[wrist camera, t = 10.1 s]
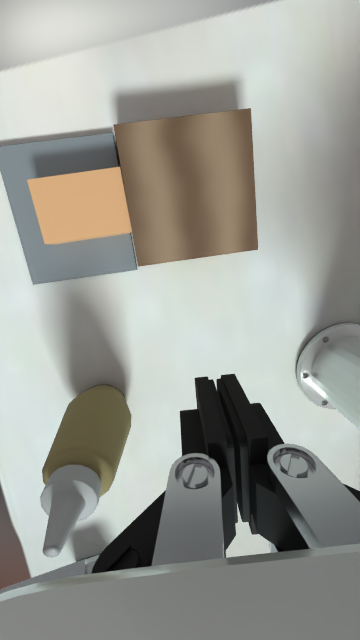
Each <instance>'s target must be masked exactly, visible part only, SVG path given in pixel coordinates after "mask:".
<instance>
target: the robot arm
mask: <svg viewBox="0 0 360 640" xmlns="http://www.w3.org/2000/svg"><path fill="white" fill-rule="evenodd" d="M297 381H298V384H299V387H300V389H301V391H302V392H303V394H304V395H305V396H306V397H307V398H308V399H309V400H310V401H311V402H313V403H314V404H316V405H317V406H320V407H322V408H327V409H337V410H338V411H339V412H340V413H341V414H342V415H344V416H345V417H346V418H347V419H348V420H349V421H350V422H351V423H352V424H354V425H355V426H356V427H357V428H358V429H359V430H360V325H359V324H355V323H343V324H337V325H334V326H331V327H328V328H327V329H325V330H323V331H321V332H320V333H318V334H317V335H316V336H315V337H313V338H312V339H311V341H310V342H309V343H308V344H307V345H306V347H305V348H304V350H303V351H302V353H301V355H300V358H299V360H298V365H297ZM195 388H196V399H197V409H194V410H184V411H180V422H181V441H182V457H180V458H179V459H177V460H176V461H175V462H174V464H173V465H172V467H171V469H170V472H169V477H168V483H167V488H166V490H165V491H164V492H163V493H162V494H161V495H160V496H159V497H158V498H157V499H156V500H155V501H154V502H153V503H152V504H151V505H150V506H149V507H148V508H147V509H146V510H145V511H144V512H143V513H141V514H140V515H139V516H138V517H137V518H136V519H135V520H134V521H133V522H132V523H131V524H130V525H129V526H128V527H127V528H126V529H125V530H124V531H123V532H122V533H121V534H120V535H119V536H118V537H116V538H115V539H114V540H113V541H112V542H111V543H110V544H109V545H108V546H107V547H106V548H105V549H104V551H103V552H102V553H101V554H100V555H99V557H98V559H97V560H96V561H93V562H91V563H88V564H87V563H86V559H84V560H81V561H78V562H75V563H72V564H70V565H67V566H64V567H61V568H58V569H56V570H53V571H50V572H47V573H45V574H42V575H39V576H36V577H33V578H31V579H28V580H25V581H22V582H19V583H17V584H14V585H11V586H8V587H5V588H3V589H1V590H0V640H360V491H358V490H356V489H354V488H351V487H349V486H347V485H345V484H343V483H341V482H340V480H339V479H338V478H337V477H336V476H335V475H334V474H333V473H332V472H331V471H330V470H329V469H328V468H327V467H326V466H325V465H324V463H323V462H322V461H321V460H320V459H319V458H318V457H317V456H316V455H315V454H313V453H312V452H311V451H310V450H308V449H306V448H304V447H301V446H298V445H295V444H284V442H283V440H282V439H281V437H280V435H279V434H278V432H277V430H276V428H275V427H274V425H273V423H272V422H271V420H270V418H269V417H268V415H267V413H266V412H265V410H264V408H263V407H262V405H261V404H260V403H253V404H250V402H249V400H248V399H247V397H246V395H245V393H244V391H243V389H242V387H241V385H240V383H239V382H238V380H237V378H236V376H235V374H228V375H221V379H217V390H216V387H215V384H214V381H213V380H208V377H198V378H195ZM237 504H238V508H239V511H240V515H241V519H242V522H249V526H250V529H251V533H252V535H253V534H260V535H261V536H263V537H264V538H265V539H267V540H268V541H269V548H270V551H271V553H266V554H257V555H248V556H238V557H229V558H226V549H227V548H228V546H229V545H230V543H231V542H232V540H233V539H234V537H235V536H236V529H235V523H238V516H237Z"/></svg>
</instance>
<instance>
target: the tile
mask: <svg viewBox="0 0 360 640" xmlns="http://www.w3.org/2000/svg"><path fill="white" fill-rule="evenodd" d="M27 182H28V185H29V189H30V193H31V196H32V200H33V204H34V207H35V211H36V214H37V218H38V222H39V225H40V229H41V233H42V236H43V240H44V243H45V244H61V243H67V242H74V241H81V240H87V239H94V238H101V237H107V236H114V235H121V234H127V233H132V228H131V222H130V216H129V211H128V205H127V199H126V193H125V188H124V182H123V176H122V171H121V168H120V167H114V168H107V169H100V170H93V171H85V172H78V173H71V174H64V175H57V176H50V177H43V178H36V179H28V180H27Z"/></svg>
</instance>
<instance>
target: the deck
mask: <svg viewBox="0 0 360 640" xmlns="http://www.w3.org/2000/svg"><path fill="white" fill-rule="evenodd" d="M114 130H115V136H116V142H117V148H118V153H119V159H120V165H121V171H122V176H123V182H124V188H125V193H126V199H127V205H128V211H129V216H130V222H131V228H132V234H133V239H134V245H135V251H136V257H137V262H138V266H145V265H152V264H159V263H166V262H173V261H180V260H187V259H194V258H201V257H208V256H215V255H222V254H230V253H237V252H244V251H251V250H258V239H257V219H256V200H255V181H254V161H253V142H252V123H251V108H249V109H241V110H232V111H224V112H215V113H207V114H199V115H190V116H182V117H174V118H165V119H157V120H148V121H140V122H132V123H123V124H115V125H114Z"/></svg>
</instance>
